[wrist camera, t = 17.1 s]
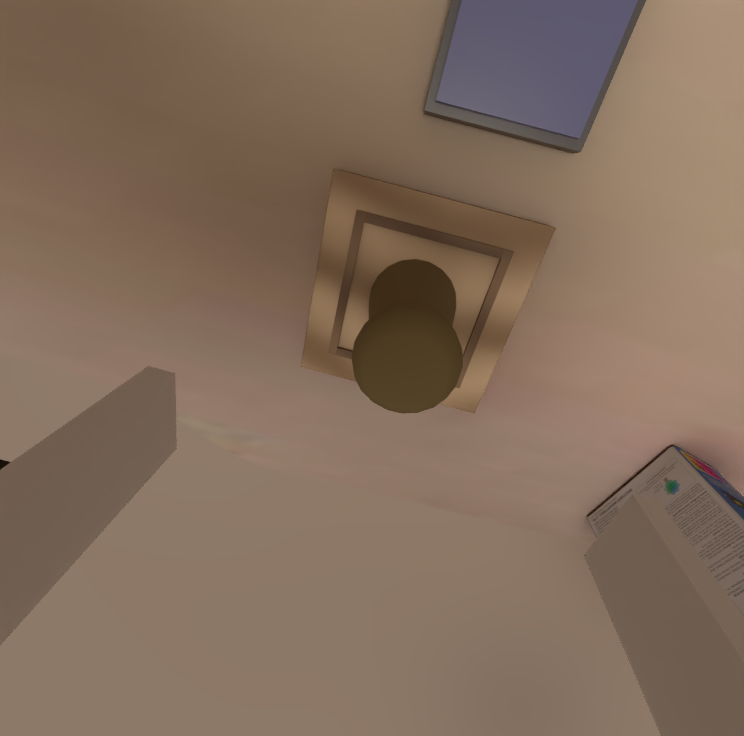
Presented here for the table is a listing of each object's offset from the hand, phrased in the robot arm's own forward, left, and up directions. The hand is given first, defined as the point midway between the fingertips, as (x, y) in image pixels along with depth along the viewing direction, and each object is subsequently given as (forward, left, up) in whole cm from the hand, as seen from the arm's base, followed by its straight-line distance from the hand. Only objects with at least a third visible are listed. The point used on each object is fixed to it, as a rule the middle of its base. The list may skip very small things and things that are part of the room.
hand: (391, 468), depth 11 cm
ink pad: (-15, +2, -18) cm, 24 cm away
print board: (0, 0, -18) cm, 18 cm away
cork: (0, 0, -17) cm, 17 cm away
